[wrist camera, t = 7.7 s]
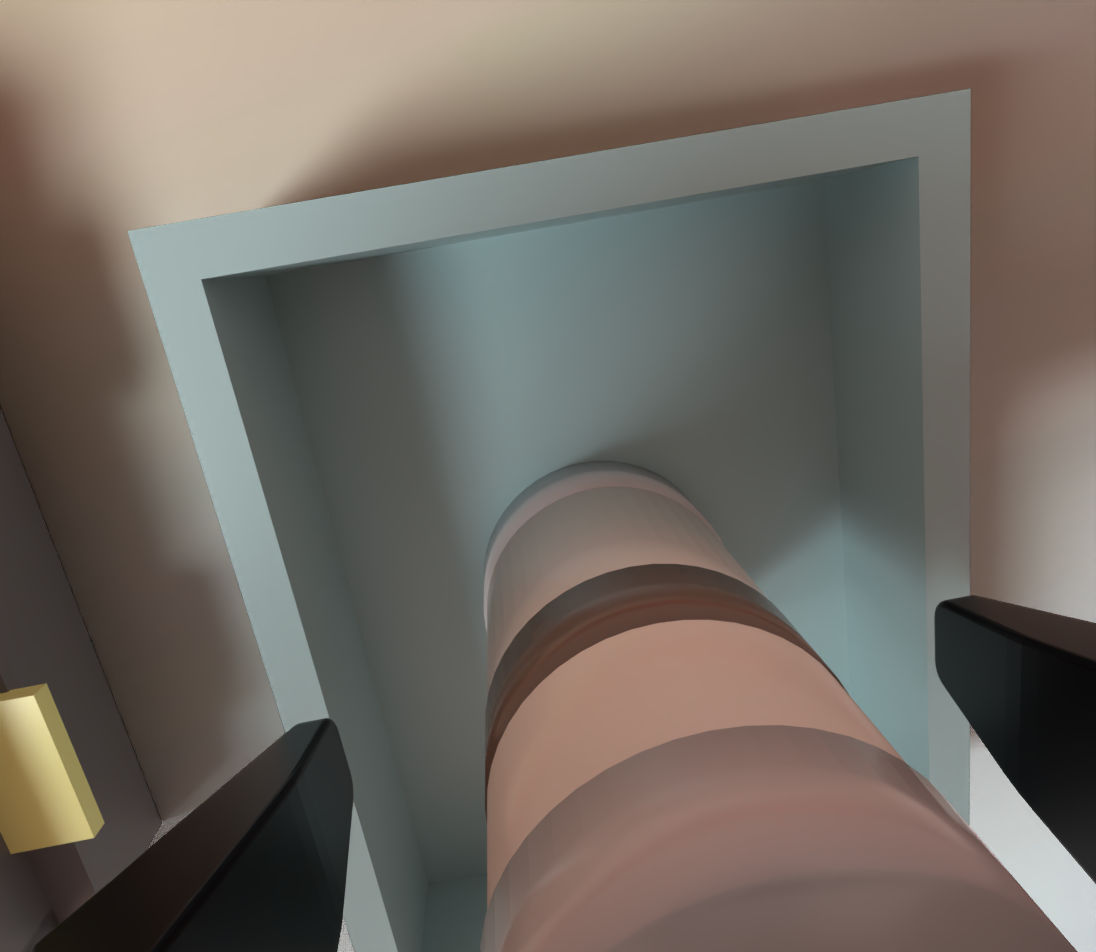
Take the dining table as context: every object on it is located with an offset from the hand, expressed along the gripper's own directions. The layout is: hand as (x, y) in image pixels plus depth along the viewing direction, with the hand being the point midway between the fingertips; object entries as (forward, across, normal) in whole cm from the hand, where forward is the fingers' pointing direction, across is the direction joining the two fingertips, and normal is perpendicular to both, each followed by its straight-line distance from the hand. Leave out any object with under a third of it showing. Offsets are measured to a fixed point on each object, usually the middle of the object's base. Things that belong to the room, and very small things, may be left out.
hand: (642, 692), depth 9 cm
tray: (+4, 0, 0) cm, 4 cm away
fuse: (+3, 0, 0) cm, 3 cm away
